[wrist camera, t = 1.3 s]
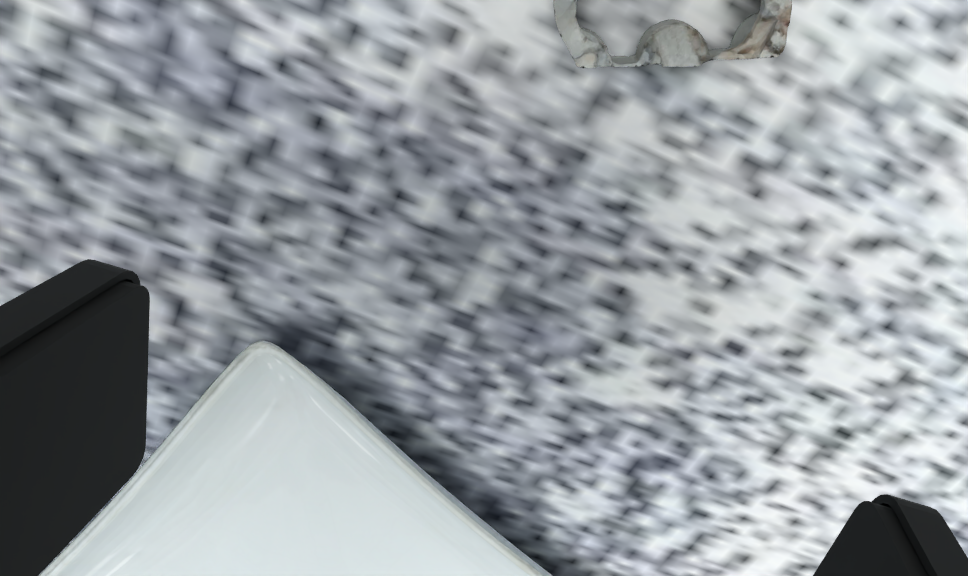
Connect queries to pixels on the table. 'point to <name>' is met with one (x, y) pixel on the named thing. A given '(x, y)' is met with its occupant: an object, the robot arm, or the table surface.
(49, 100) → the table surface
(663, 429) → the table surface
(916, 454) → the table surface
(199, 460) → the square plate
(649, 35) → the egg carton
